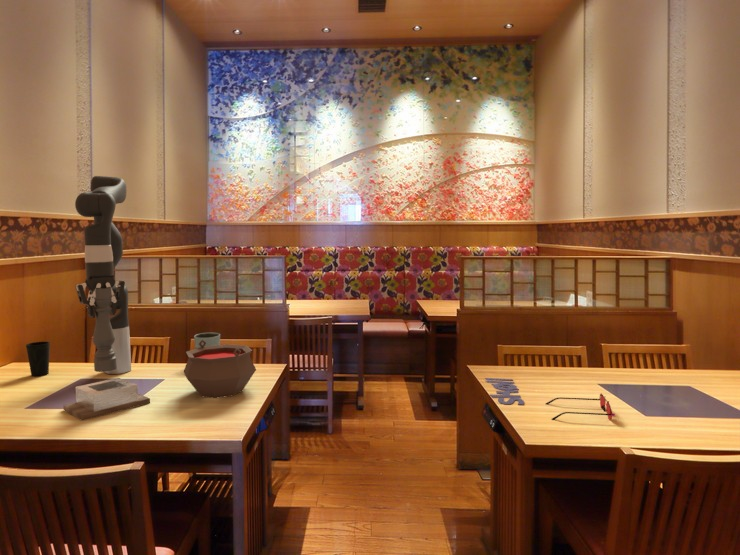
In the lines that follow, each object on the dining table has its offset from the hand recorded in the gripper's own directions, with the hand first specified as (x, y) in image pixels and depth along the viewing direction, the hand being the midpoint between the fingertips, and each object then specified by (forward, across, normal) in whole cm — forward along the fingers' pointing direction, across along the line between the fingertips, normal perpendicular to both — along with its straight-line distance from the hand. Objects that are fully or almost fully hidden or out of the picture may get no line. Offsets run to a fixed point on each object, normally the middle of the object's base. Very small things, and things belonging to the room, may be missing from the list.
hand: (102, 316), depth 163 cm
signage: (+29, -90, +87) cm, 128 cm away
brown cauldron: (+28, -31, +14) cm, 44 cm away
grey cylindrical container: (+29, -49, -22) cm, 61 cm away
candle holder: (+17, 0, 0) cm, 17 cm away
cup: (+29, 0, -59) cm, 65 cm away
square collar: (+27, 0, 0) cm, 27 cm away
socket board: (+28, 0, 0) cm, 28 cm away
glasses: (+29, -84, +113) cm, 144 cm away
